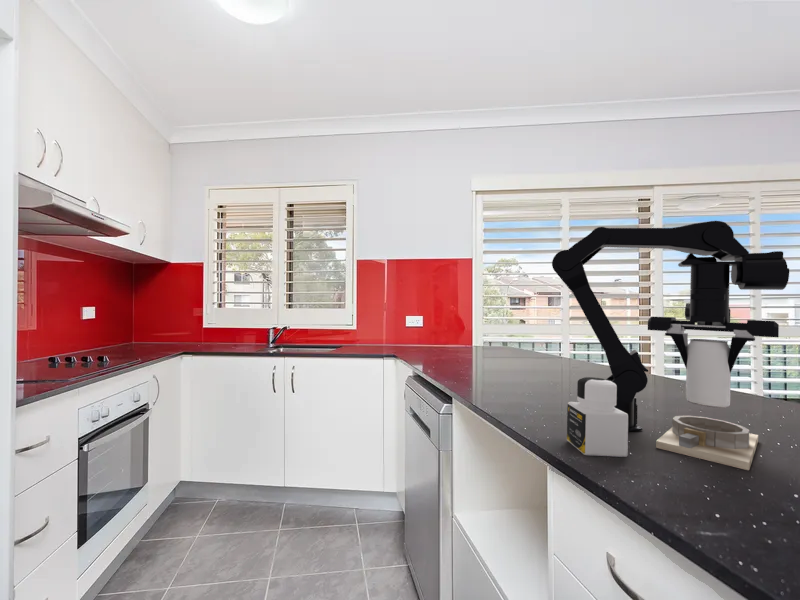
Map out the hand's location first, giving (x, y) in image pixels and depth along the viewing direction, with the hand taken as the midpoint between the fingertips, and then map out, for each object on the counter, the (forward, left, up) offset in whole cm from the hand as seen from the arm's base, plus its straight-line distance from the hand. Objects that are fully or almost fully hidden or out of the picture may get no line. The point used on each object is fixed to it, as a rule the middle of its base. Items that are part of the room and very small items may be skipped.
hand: (707, 371), depth 71 cm
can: (0, 0, -6) cm, 6 cm away
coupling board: (-2, -2, -13) cm, 13 cm away
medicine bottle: (-25, 0, -13) cm, 28 cm away
